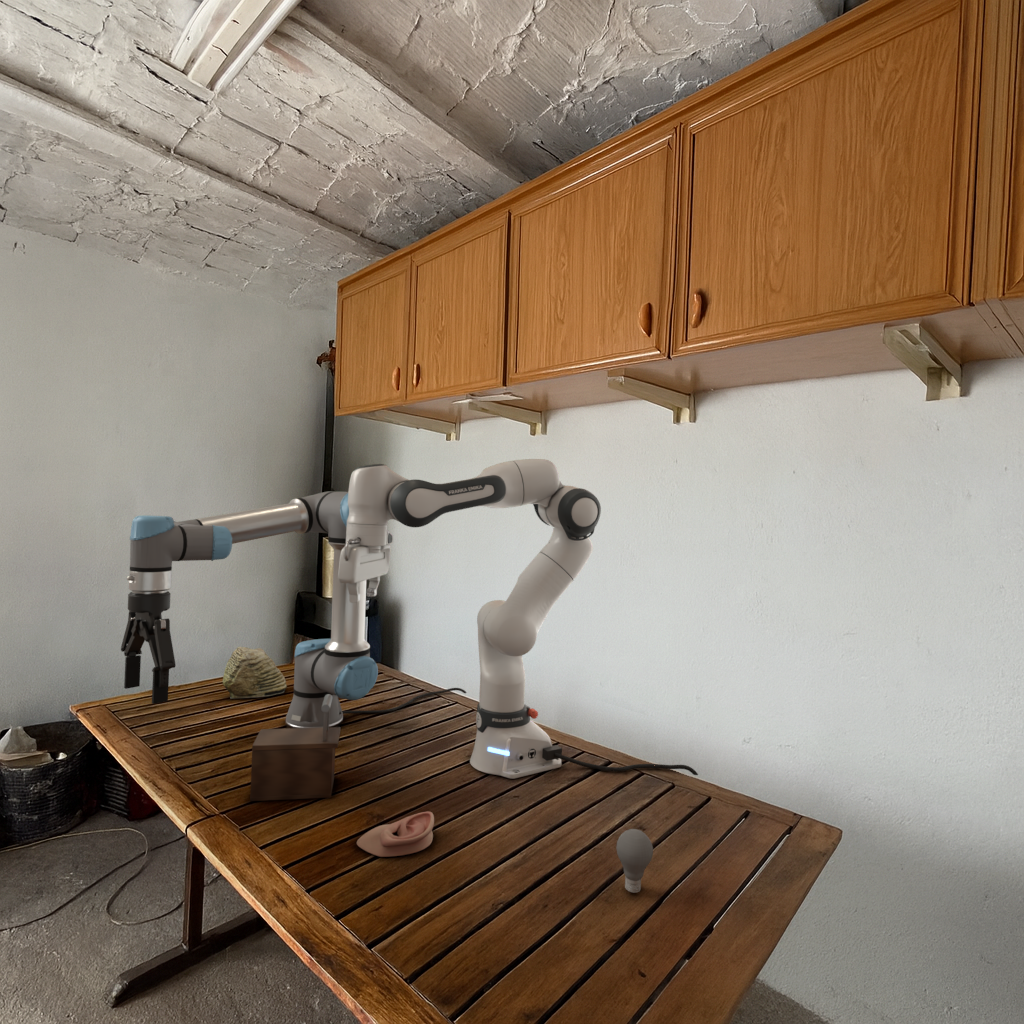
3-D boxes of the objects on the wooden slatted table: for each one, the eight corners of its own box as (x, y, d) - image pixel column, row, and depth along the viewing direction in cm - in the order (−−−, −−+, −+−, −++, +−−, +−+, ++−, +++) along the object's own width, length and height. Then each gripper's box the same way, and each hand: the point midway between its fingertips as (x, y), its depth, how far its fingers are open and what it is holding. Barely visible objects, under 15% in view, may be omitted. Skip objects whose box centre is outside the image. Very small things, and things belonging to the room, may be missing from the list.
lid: (340, 731, 143) (342, 692, 143) (337, 747, 134) (339, 705, 134) (260, 733, 139) (262, 693, 139) (252, 750, 130) (253, 707, 130)
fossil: (218, 695, 195) (220, 647, 195) (278, 685, 208) (279, 640, 207) (228, 703, 189) (230, 653, 188) (289, 692, 201) (290, 645, 201)
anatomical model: (349, 829, 113) (376, 800, 125) (348, 851, 113) (375, 820, 125) (420, 841, 111) (440, 810, 122) (419, 863, 111) (439, 830, 122)
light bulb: (610, 879, 108) (613, 822, 108) (644, 879, 109) (647, 822, 109) (619, 902, 102) (622, 840, 102) (655, 901, 103) (658, 840, 103)
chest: (334, 778, 143) (336, 732, 143) (330, 797, 134) (332, 748, 133) (258, 781, 140) (260, 734, 139) (250, 801, 130) (252, 751, 130)
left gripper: (105, 585, 134) (101, 684, 134) (156, 600, 119) (151, 713, 119) (144, 582, 140) (139, 678, 140) (197, 597, 125) (192, 704, 125)
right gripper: (360, 540, 129) (357, 607, 129) (396, 535, 149) (393, 594, 149) (331, 538, 130) (328, 605, 130) (370, 534, 150) (367, 592, 151)
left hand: (145, 694), depth 130 cm, fingers open, 13 cm apart
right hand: (363, 599), depth 140 cm, fingers open, 8 cm apart
